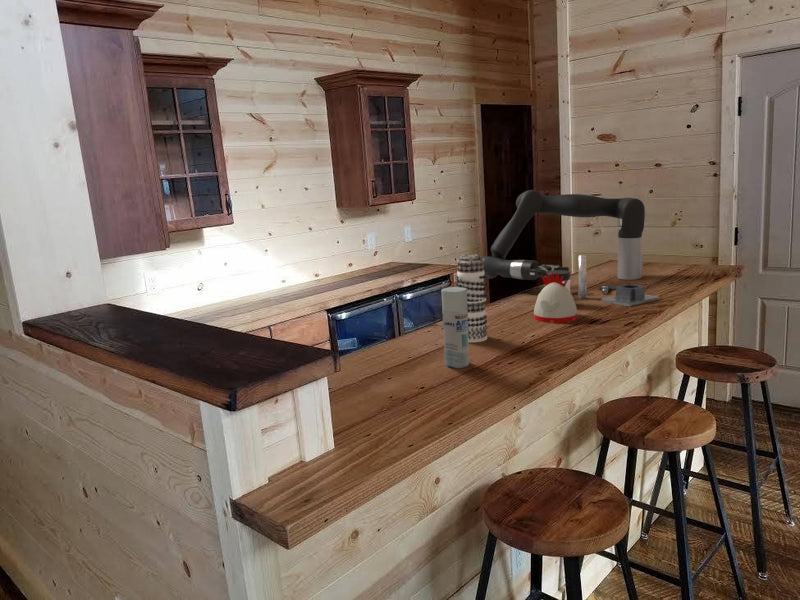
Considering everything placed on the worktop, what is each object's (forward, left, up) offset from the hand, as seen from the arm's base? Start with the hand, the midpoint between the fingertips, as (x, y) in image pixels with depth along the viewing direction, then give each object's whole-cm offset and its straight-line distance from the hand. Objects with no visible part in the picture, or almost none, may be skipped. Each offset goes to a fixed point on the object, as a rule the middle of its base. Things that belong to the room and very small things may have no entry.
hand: (563, 272), depth 233 cm
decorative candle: (+60, +23, -10) cm, 65 cm away
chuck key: (-17, +5, -9) cm, 21 cm away
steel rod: (-2, +7, -9) cm, 12 cm away
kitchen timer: (+25, +21, -10) cm, 34 cm away
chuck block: (-11, +21, -9) cm, 26 cm away
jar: (+12, +9, -10) cm, 18 cm away
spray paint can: (+78, +40, -10) cm, 88 cm away
